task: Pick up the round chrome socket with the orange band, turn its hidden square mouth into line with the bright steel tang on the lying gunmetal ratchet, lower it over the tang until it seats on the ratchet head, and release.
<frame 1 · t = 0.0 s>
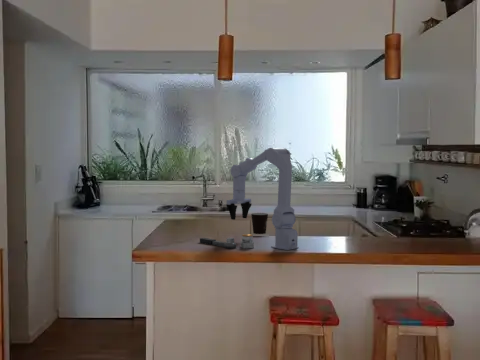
hand: (239, 218, 260), 10 cm above the table, fingers open, 7 cm apart
ratchet: (230, 247, 240), on the table
coffee mug: (261, 233, 283), on the table
socket: (247, 247, 241), on the table
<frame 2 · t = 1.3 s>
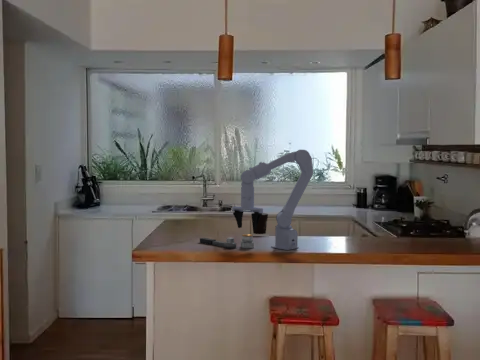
hand: (247, 228, 241), 8 cm above the table, fingers open, 7 cm apart
nothing on the table moved.
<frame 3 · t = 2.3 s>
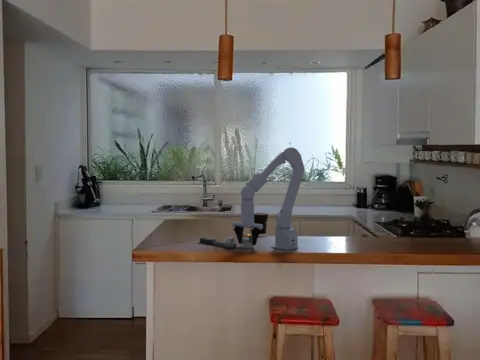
hand: (247, 244, 241), 1 cm above the table, fingers closed on socket, 6 cm apart
socket: (247, 247, 241), on the table, touching gripper
everything else where it was.
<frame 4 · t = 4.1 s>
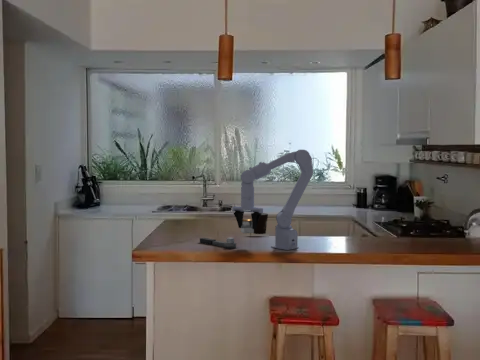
hand: (247, 228, 241), 8 cm above the table, fingers closed on socket, 6 cm apart
socket: (247, 232, 241), point 7 cm above the table, touching gripper
everything else where it was.
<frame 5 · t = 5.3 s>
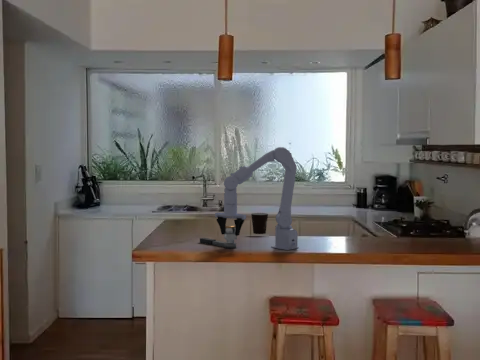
hand: (230, 234, 240), 6 cm above the table, fingers closed on socket, 6 cm apart
socket: (230, 238, 240), point 4 cm above the table, touching gripper
everything else where it was.
when the fingers open (4 cm above the table, at t = 6.2 s): socket stays where it is, resting on ratchet.
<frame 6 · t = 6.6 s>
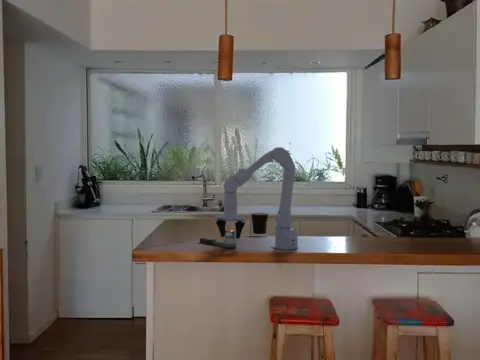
hand: (230, 237, 240), 4 cm above the table, fingers open, 7 cm apart
socket: (230, 243, 240), point 2 cm above the table, touching ratchet
everything else where it was.
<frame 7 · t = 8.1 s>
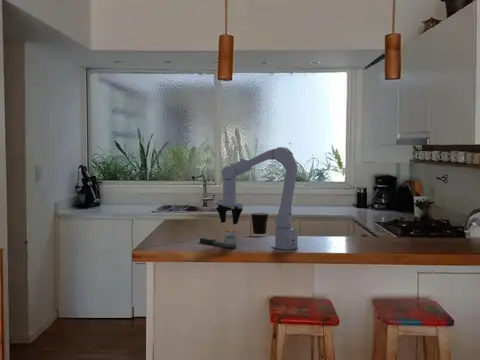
hand: (229, 223, 246), 10 cm above the table, fingers open, 7 cm apart
nothing on the table moved.
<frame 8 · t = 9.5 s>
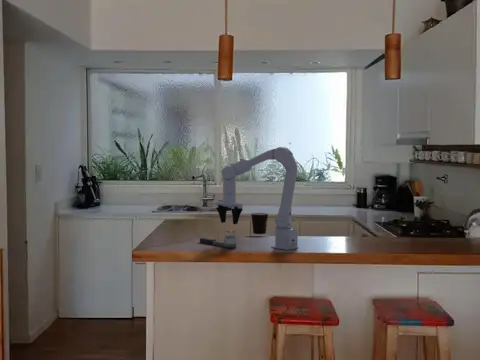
hand: (229, 223, 246), 10 cm above the table, fingers open, 7 cm apart
nothing on the table moved.
at the end: socket 0.1 cm off-centre on the ratchet, point 2.0 cm above the ratchet's base; socket tilted 0°; the gripper is holding nothing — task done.
